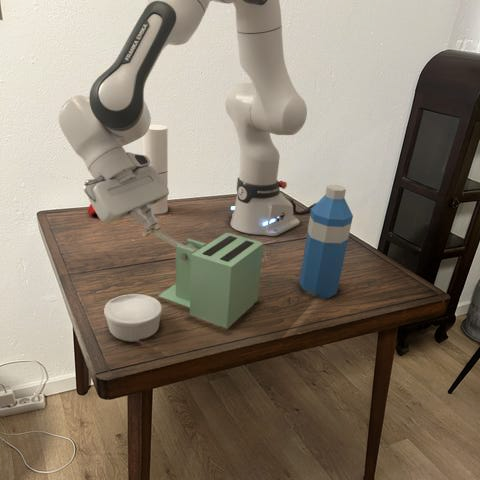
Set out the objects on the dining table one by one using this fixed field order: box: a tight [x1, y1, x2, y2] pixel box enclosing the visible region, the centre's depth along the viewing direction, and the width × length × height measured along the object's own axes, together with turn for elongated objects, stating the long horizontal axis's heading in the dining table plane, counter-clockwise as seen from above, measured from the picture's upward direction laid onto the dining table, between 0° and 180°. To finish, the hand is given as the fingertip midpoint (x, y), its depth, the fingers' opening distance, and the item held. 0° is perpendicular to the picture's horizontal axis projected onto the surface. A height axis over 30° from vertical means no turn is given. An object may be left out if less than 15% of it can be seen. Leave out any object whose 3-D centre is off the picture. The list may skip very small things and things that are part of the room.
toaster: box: [188, 232, 265, 330], centre depth 104 cm, size 9×14×15 cm, turn 152°
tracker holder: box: [87, 203, 97, 217], centre depth 150 cm, size 12×4×10 cm
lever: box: [141, 224, 199, 251], centre depth 106 cm, size 12×5×2 cm, turn 62°
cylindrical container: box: [142, 123, 169, 215], centre depth 149 cm, size 7×7×25 cm
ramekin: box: [103, 293, 163, 343], centre depth 98 cm, size 11×11×5 cm
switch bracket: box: [157, 238, 207, 309], centre depth 108 cm, size 11×9×13 cm
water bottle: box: [298, 184, 354, 299], centre depth 113 cm, size 9×9×25 cm
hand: (152, 226), depth 107 cm, fingers closed, pressing on lever
